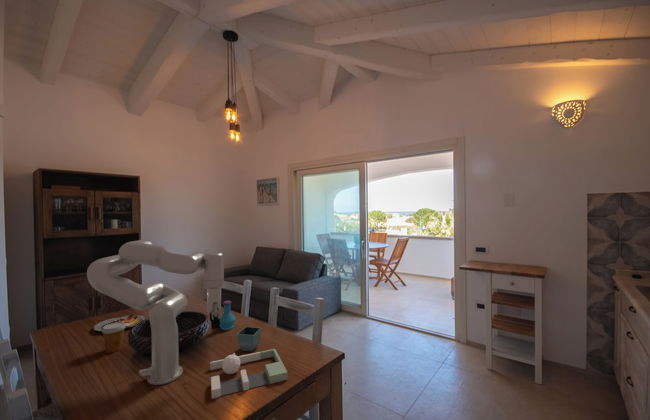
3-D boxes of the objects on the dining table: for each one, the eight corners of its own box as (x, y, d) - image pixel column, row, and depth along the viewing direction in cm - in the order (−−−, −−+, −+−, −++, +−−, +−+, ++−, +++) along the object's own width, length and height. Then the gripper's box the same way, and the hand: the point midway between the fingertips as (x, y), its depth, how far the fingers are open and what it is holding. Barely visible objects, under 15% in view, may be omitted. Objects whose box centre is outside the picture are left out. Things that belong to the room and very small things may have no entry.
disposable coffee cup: (129, 344, 144) (129, 320, 144) (120, 353, 135) (120, 328, 135) (107, 346, 141) (107, 322, 142) (97, 356, 132) (97, 330, 132)
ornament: (218, 373, 117) (224, 352, 122) (235, 376, 119) (241, 355, 124) (221, 372, 112) (227, 350, 116) (239, 375, 114) (244, 353, 119)
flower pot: (254, 354, 132) (253, 335, 132) (236, 352, 134) (236, 333, 134) (261, 345, 141) (261, 327, 141) (245, 344, 143) (245, 326, 143)
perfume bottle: (238, 326, 165) (238, 300, 165) (225, 332, 157) (225, 305, 157) (228, 323, 170) (228, 298, 170) (215, 328, 162) (215, 302, 162)
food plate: (143, 315, 185) (142, 310, 185) (148, 326, 167) (148, 320, 167) (93, 325, 169) (93, 319, 169) (94, 338, 151) (93, 332, 151)
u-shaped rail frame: (211, 398, 101) (211, 390, 101) (210, 368, 120) (210, 361, 120) (287, 379, 112) (287, 372, 112) (275, 355, 131) (275, 348, 131)
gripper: (203, 279, 122) (204, 319, 122) (205, 289, 107) (205, 334, 107) (221, 277, 126) (222, 316, 126) (226, 286, 110) (226, 330, 110)
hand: (214, 324), depth 116 cm, fingers open, 9 cm apart
